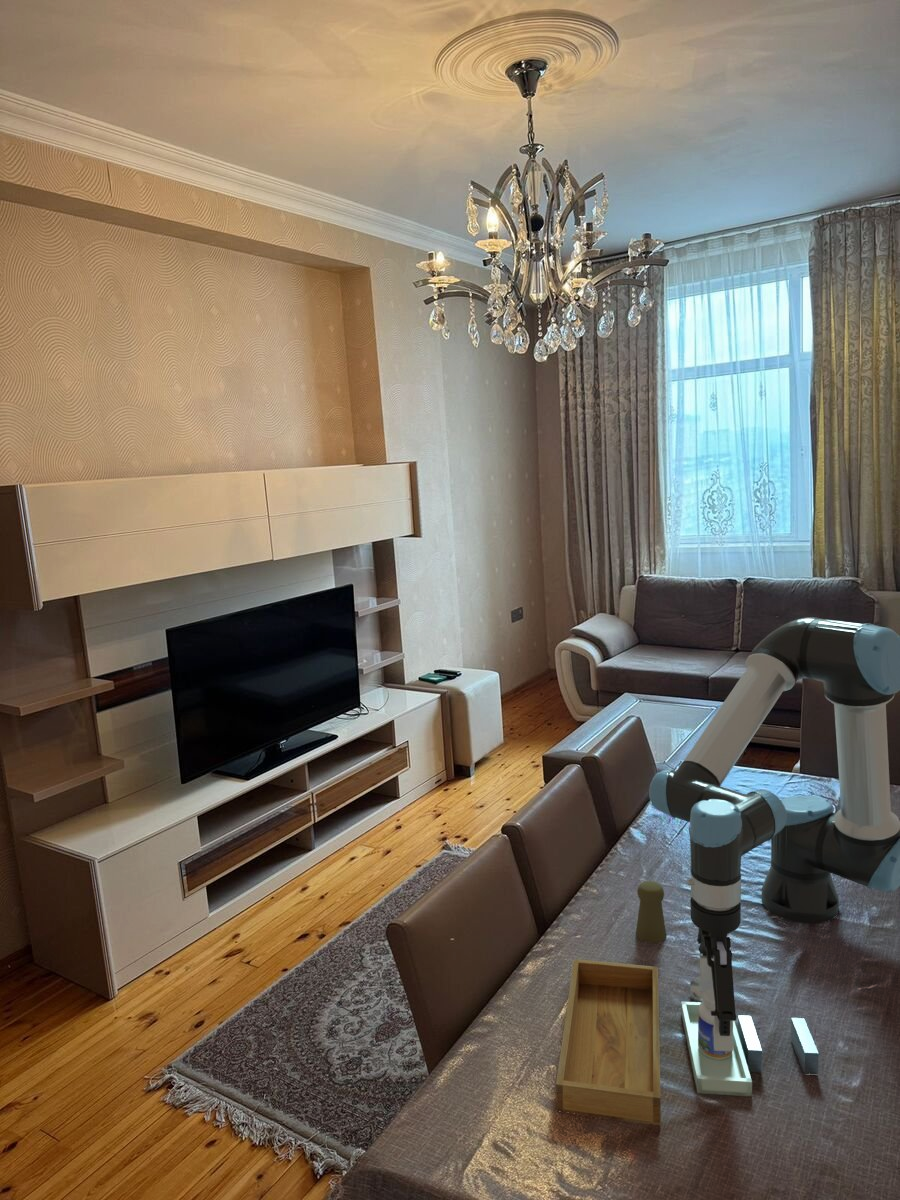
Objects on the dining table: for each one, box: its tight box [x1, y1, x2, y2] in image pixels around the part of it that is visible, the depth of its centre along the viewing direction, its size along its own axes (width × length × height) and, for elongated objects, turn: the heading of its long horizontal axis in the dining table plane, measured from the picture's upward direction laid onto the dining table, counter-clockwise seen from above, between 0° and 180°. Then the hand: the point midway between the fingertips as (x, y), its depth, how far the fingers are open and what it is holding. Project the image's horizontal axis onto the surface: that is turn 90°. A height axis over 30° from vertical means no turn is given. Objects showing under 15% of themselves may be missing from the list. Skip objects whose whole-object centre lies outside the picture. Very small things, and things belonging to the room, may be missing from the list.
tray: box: [555, 958, 662, 1126], centre depth 137 cm, size 31×15×6 cm, turn 167°
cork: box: [635, 880, 667, 944], centre depth 167 cm, size 6×6×11 cm
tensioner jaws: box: [737, 1015, 820, 1075], centre depth 133 cm, size 10×8×4 cm
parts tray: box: [680, 1001, 753, 1097], centre depth 135 cm, size 8×18×2 cm, turn 172°
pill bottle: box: [698, 988, 732, 1060], centre depth 134 cm, size 5×5×10 cm
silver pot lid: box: [689, 976, 704, 1002], centre depth 148 cm, size 6×6×3 cm
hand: (715, 1019), depth 134 cm, fingers open, 13 cm apart
